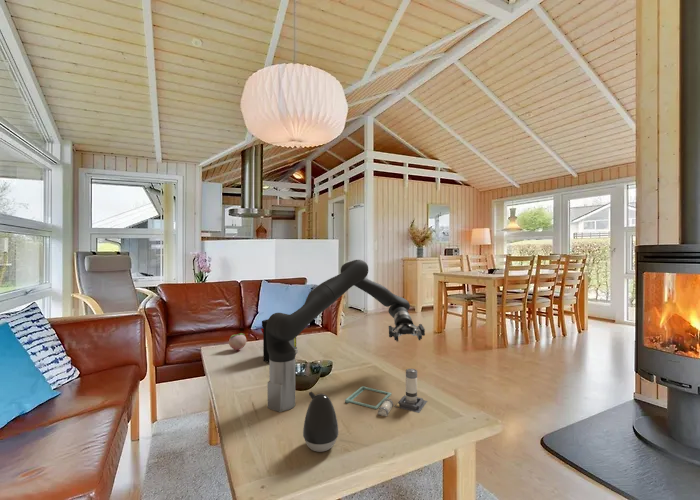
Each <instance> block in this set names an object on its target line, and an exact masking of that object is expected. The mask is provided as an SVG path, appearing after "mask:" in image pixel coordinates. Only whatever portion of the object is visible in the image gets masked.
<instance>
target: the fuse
mask: <svg viewBox="0 0 700 500" xmlns="http://www.w3.org/2000/svg"><path fill="white" fill-rule="evenodd" d="M393 406H394V402H393V400H392V399H390V398H387V399H385V401H384V402H383V403H382V404H381V405H380V407H379V408H378V409H377V415H378V416H383V417H388V415H389V413H390V411H391V410H392V408H393Z"/></svg>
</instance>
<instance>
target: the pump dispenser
mask: <svg viewBox="0 0 700 500" xmlns="http://www.w3.org/2000/svg"><path fill="white" fill-rule="evenodd" d="M308 395H309V396H310V397H309V398H311V400H310V403H309V404H308V407H307V411H306V414H305V418H304V423H303V429H302V437H303V439H304V441H305V444H306V446H307V447H308V448H309V449H310V450H311V451H314V452H318V453H319V452H320V453H321V452H326V451H328V450H329V451H330V449H332V448H333V447H334V445H335V444H336V441H337V438H338V437H339V424H338V419H337V414H336V411H335V408H334V404H333V403H332V402H333V401H332V400H331V399H330V397H329V396H328V395H326V394H324V393H318V394H315V393H314V392H312V391H310V392H309V393H308Z"/></svg>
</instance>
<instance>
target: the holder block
mask: <svg viewBox="0 0 700 500" xmlns="http://www.w3.org/2000/svg"><path fill="white" fill-rule="evenodd" d="M427 403H428V400H424V398H423V397H419V396H417V405H413V404H408V403H406V393H405V394H404V395H403V396H402V397H401V398H400V399H399V400H398V402H397V403H396V405H394V408H397V409H401V410H402V409H403V410H405V411H410V412H414V413H417V414H419V413H421V411H422V410H423V408H424V407H425V405H427Z"/></svg>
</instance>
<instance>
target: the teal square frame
mask: <svg viewBox="0 0 700 500" xmlns="http://www.w3.org/2000/svg"><path fill="white" fill-rule="evenodd" d="M365 390H368V391H372V392H376V393H380V394H384V395H385V396H384V397H383V398H382V399H381V400H380V401H378V403H377V404H376V405H372V404H368V403H364V402H361V401H356V400H354V399H355V398H357V397H359V395H360V394H361V393H362V392H364V391H365ZM391 396H392V392H388V391H384V390H381V389H376V388H372V387H367V386H360V387H359V388H358V389H357V390H355V391H354V392H353V393H352V394H350V395H349V396H348V397H347V398H345V399H344V402H345V403H346V404H349V403H352V404H355V405H358V406H362V407H366V408H369V409H374V410H378V409H379V408H380V407H381V406H382V404H383V402H384V401H385V399H389V397H391Z"/></svg>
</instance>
